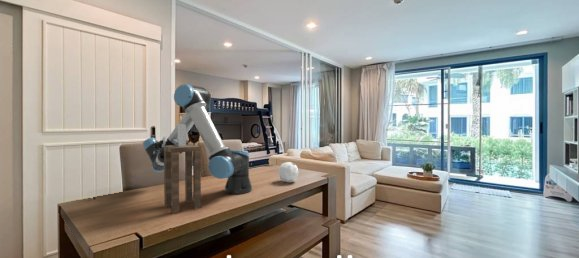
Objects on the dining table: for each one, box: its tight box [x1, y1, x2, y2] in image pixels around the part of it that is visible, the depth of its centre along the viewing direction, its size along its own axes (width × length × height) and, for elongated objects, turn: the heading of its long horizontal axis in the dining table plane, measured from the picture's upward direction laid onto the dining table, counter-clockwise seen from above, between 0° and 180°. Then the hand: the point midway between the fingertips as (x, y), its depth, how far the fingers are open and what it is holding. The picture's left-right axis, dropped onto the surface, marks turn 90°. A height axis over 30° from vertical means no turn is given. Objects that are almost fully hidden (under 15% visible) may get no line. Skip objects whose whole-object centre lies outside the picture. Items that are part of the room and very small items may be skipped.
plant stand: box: [163, 143, 202, 214], centre depth 115 cm, size 13×12×28 cm
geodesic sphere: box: [277, 161, 299, 184], centre depth 163 cm, size 14×14×14 cm
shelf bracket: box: [173, 123, 187, 147], centre depth 120 cm, size 20×3×10 cm, turn 31°
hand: (176, 138), depth 120 cm, fingers open, 9 cm apart
